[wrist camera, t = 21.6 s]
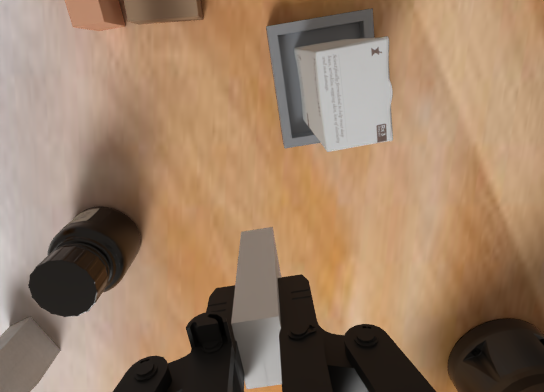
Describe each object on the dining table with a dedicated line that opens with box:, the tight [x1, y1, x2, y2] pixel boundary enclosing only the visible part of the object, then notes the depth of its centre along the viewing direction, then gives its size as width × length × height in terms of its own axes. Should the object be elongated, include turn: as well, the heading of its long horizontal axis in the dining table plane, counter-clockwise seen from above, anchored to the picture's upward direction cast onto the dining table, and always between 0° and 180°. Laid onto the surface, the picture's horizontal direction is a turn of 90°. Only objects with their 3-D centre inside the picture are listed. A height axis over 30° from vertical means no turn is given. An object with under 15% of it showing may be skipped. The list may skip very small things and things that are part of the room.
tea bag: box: [0, 316, 60, 392], centre depth 51 cm, size 4×7×10 cm, turn 27°
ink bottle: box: [28, 207, 141, 317], centre depth 44 cm, size 10×9×12 cm
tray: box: [266, 8, 374, 148], centre depth 43 cm, size 11×13×2 cm
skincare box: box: [294, 36, 393, 152], centre depth 36 cm, size 8×6×15 cm
